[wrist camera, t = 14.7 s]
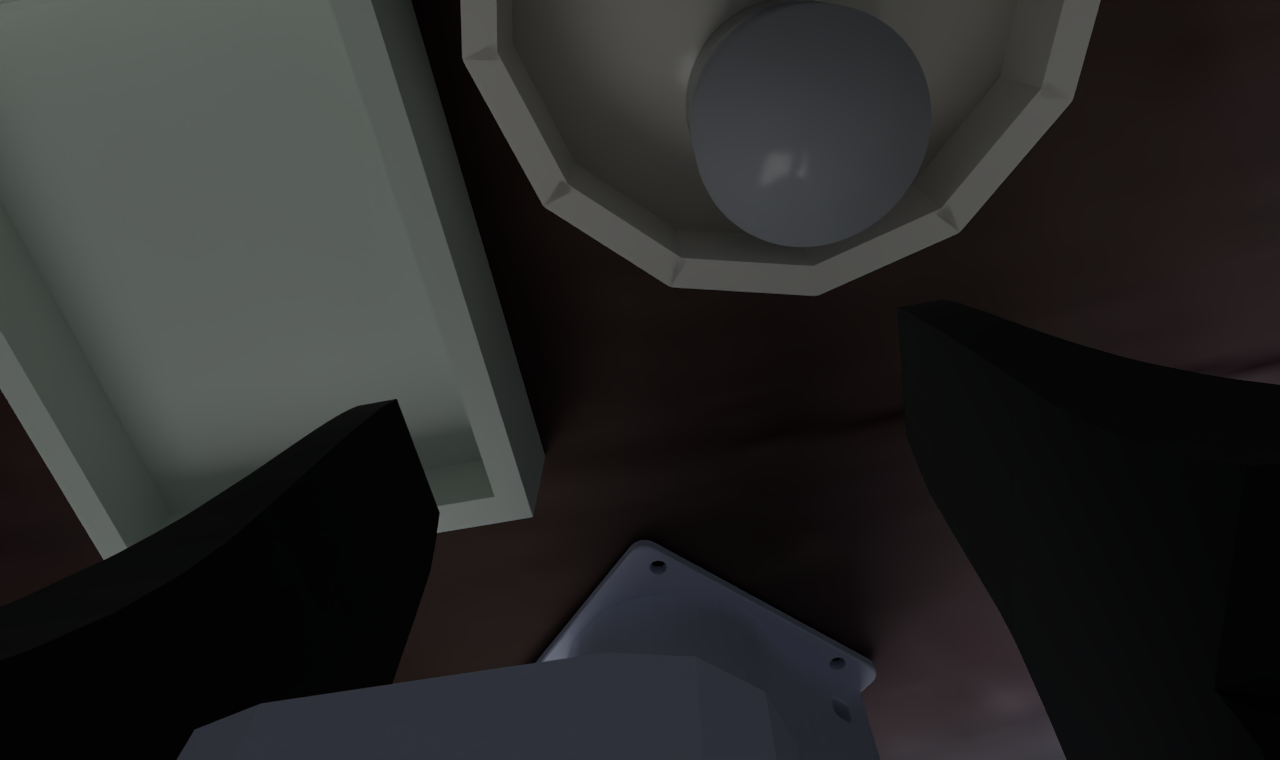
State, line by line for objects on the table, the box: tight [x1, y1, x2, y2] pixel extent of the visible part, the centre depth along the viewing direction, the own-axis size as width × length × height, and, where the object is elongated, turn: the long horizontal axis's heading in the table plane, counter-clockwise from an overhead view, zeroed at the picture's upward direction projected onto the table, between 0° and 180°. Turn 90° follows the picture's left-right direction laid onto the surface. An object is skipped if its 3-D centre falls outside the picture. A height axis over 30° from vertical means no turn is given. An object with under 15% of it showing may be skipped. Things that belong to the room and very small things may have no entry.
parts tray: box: [0, 0, 545, 560], centre depth 20 cm, size 15×12×3 cm
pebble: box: [686, 0, 931, 247], centre depth 17 cm, size 4×4×4 cm
